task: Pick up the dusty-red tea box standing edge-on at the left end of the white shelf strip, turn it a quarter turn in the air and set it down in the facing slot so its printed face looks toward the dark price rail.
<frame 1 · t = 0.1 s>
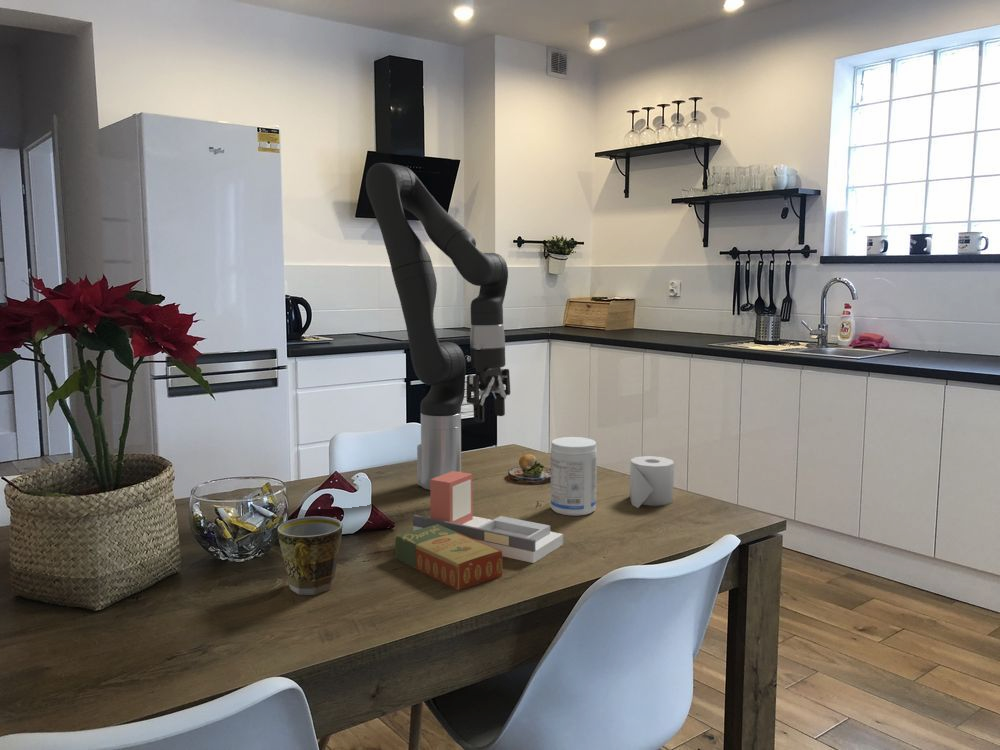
hand: (489, 418, 177), 17 cm above the table, tool pointing down, fingers open, 8 cm apart
ceramic cup: (309, 591, 127), on the table
carton: (447, 569, 137), on the table
toilet tissue: (648, 501, 176), on the table
tea box: (451, 522, 154), point 2 cm above the table, touching shelf strip
burger: (532, 479, 194), on the table
shelf strip: (487, 540, 150), on the table
supplement tub: (572, 510, 169), on the table
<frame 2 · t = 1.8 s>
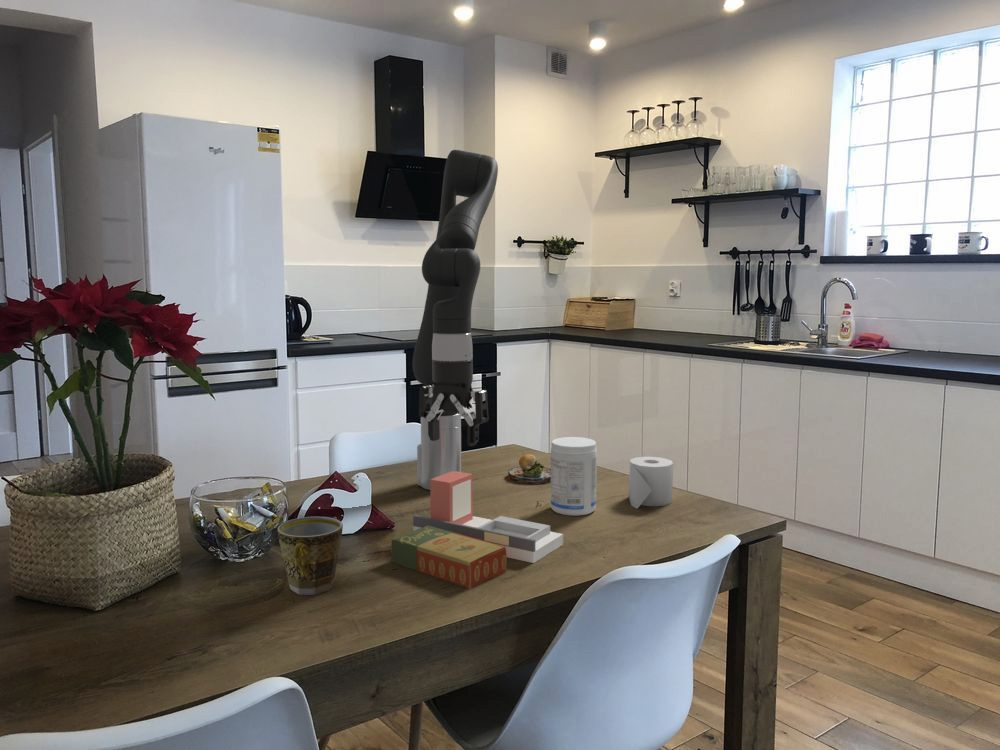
hand: (453, 442, 152), 18 cm above the table, tool pointing down, fingers open, 8 cm apart
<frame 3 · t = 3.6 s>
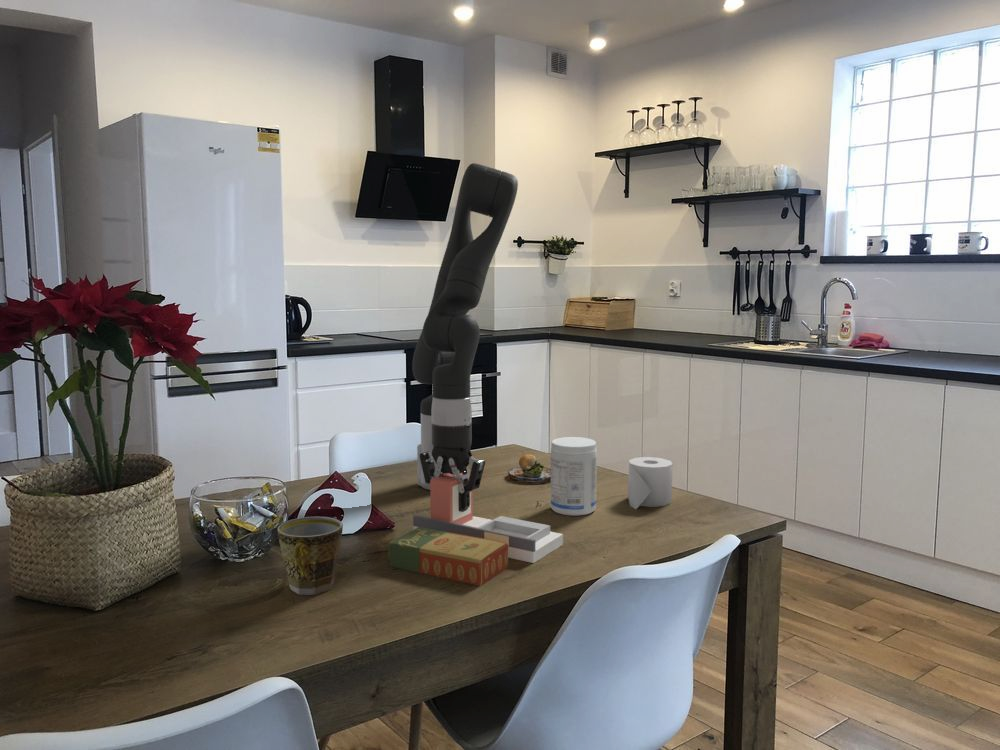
hand: (452, 508, 153), 5 cm above the table, tool pointing down, fingers closed on tea box, 4 cm apart
tea box: (451, 522, 154), point 2 cm above the table, touching gripper, shelf strip
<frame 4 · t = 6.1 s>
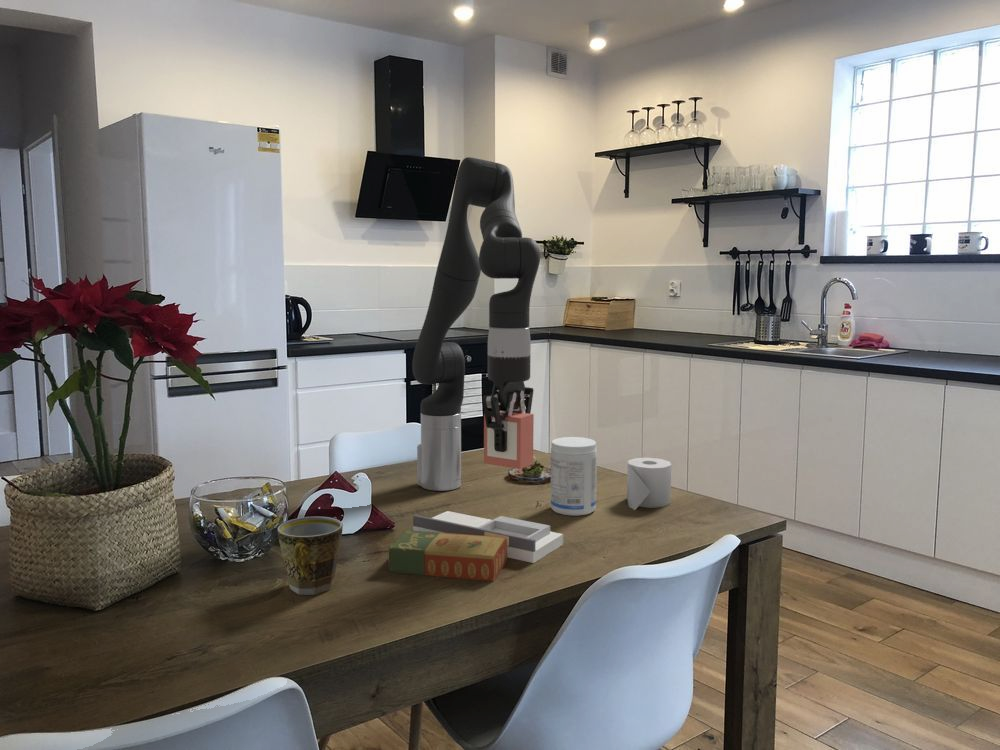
hand: (508, 448, 143), 19 cm above the table, tool pointing down, fingers closed on tea box, 4 cm apart
tea box: (508, 463, 143), point 16 cm above the table, touching gripper
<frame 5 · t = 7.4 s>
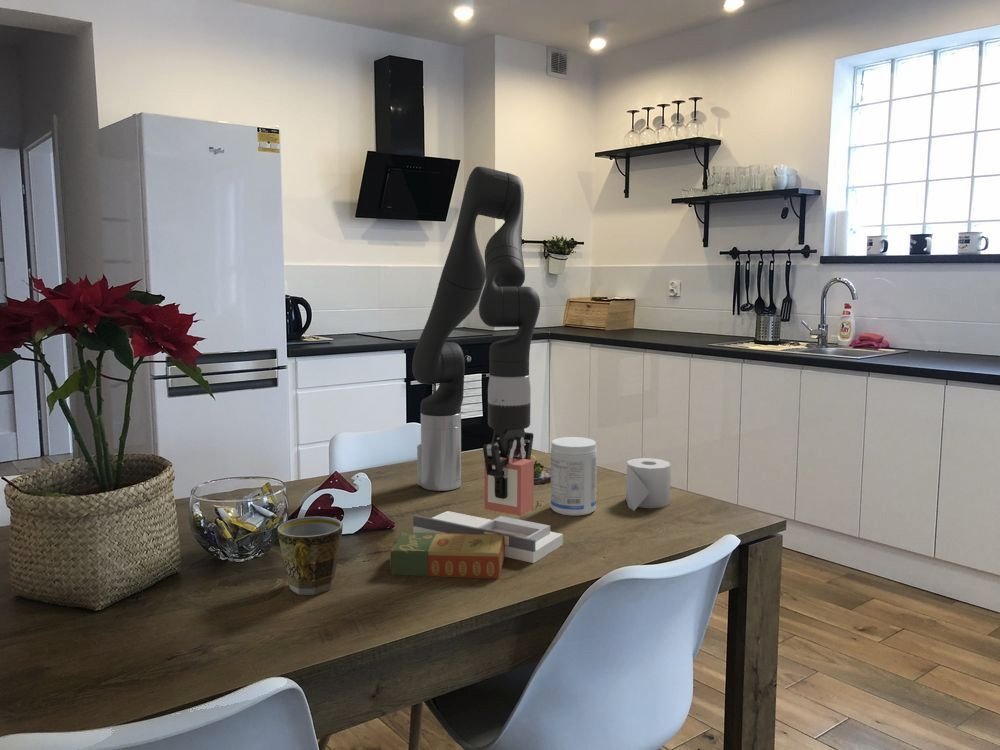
hand: (508, 493, 144), 10 cm above the table, tool pointing down, fingers closed on tea box, 4 cm apart
tea box: (508, 509, 145), point 7 cm above the table, touching gripper
when the fingers open (7 cm above the table, at t = 8.6 s): tea box drops 2 cm, resting on shelf strip.
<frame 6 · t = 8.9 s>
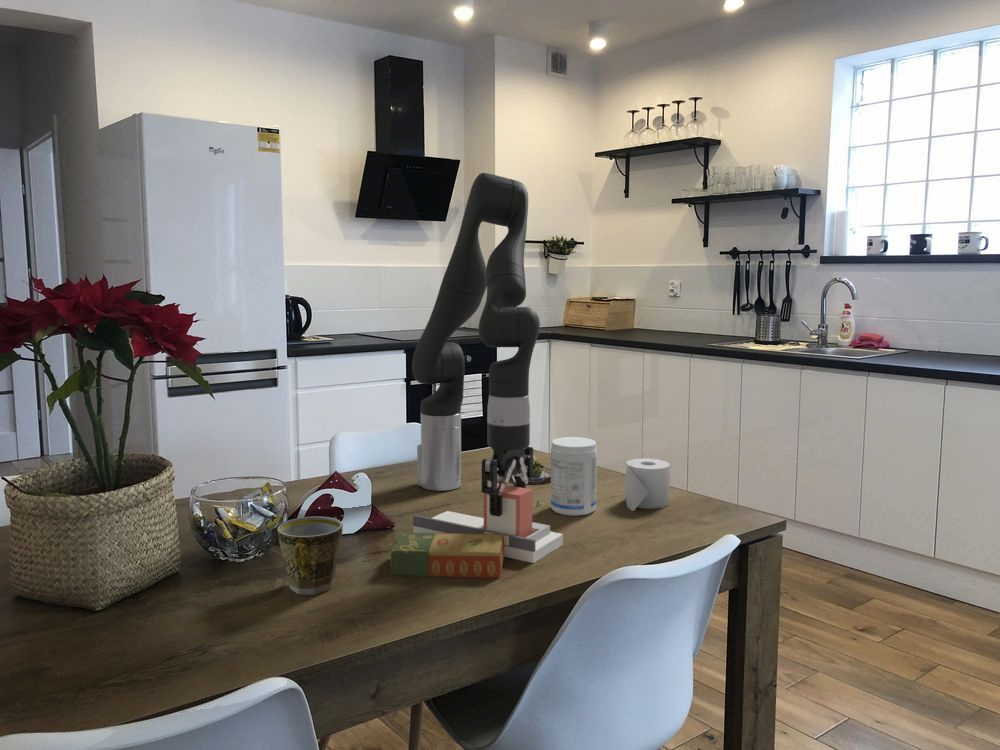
hand: (508, 509, 145), 7 cm above the table, tool pointing down, fingers open, 7 cm apart
tea box: (507, 537, 145), point 2 cm above the table, touching shelf strip
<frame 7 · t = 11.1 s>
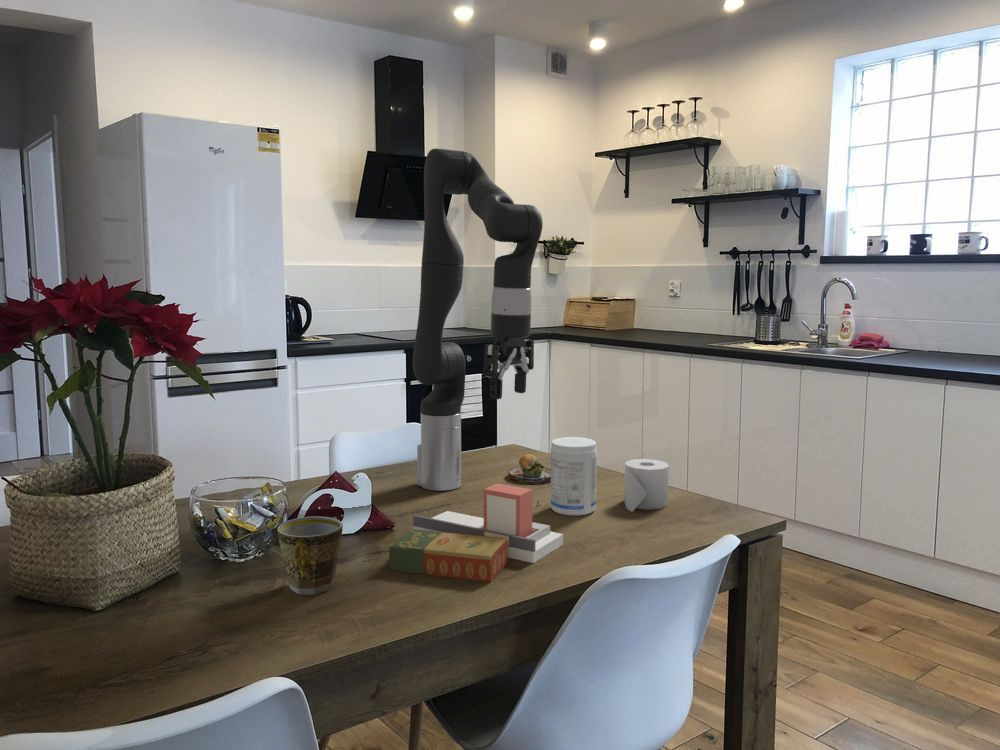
hand: (508, 395, 155), 26 cm above the table, tool pointing down, fingers open, 8 cm apart
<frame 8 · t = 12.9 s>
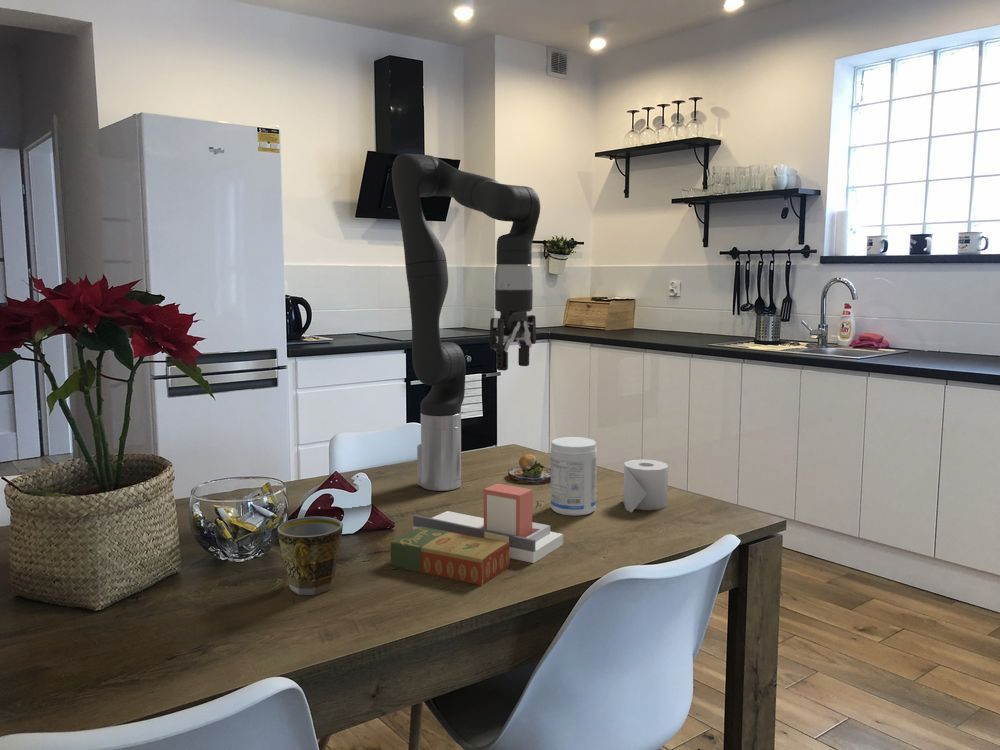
hand: (513, 368, 163), 30 cm above the table, tool pointing down, fingers open, 8 cm apart
at the end: tea box 0.0 cm from the target spot, point 2.0 cm above the table; tea box tilted 0°; the gripper is holding nothing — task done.
